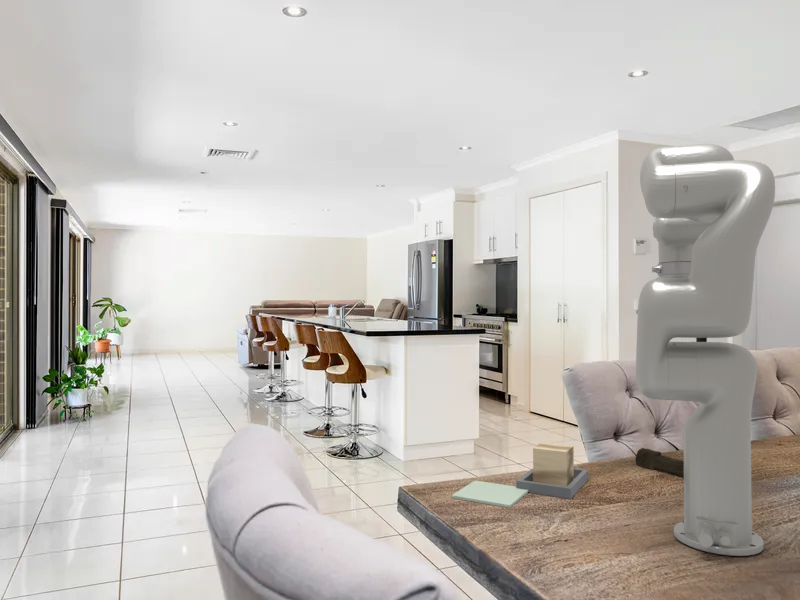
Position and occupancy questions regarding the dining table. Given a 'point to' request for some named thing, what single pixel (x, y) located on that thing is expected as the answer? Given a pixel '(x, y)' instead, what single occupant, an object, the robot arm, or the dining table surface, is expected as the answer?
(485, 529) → the dining table surface
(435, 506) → the dining table surface
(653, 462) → the hand tool
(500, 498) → the pad
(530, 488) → the gray rectangular frame
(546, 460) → the block
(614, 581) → the dining table surface
